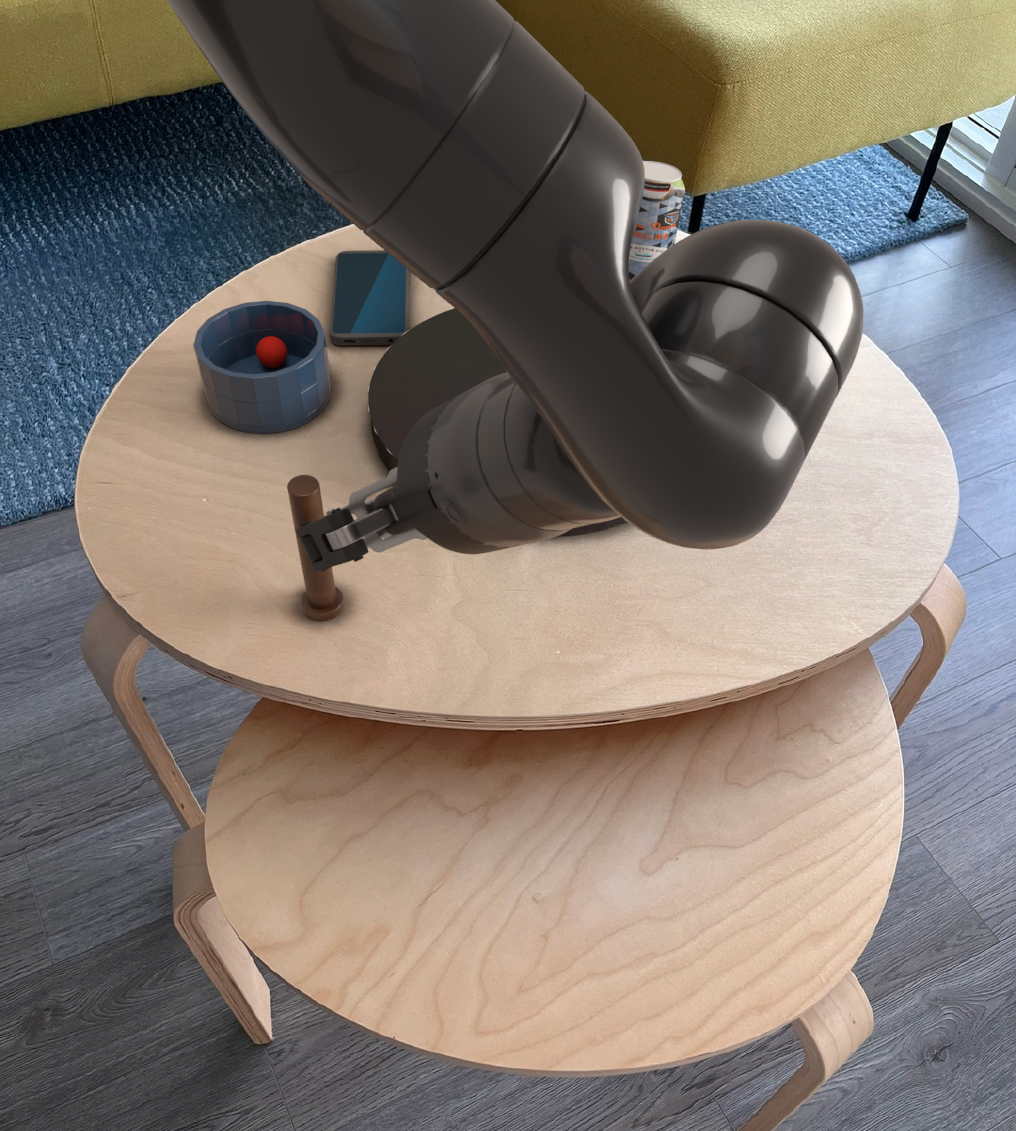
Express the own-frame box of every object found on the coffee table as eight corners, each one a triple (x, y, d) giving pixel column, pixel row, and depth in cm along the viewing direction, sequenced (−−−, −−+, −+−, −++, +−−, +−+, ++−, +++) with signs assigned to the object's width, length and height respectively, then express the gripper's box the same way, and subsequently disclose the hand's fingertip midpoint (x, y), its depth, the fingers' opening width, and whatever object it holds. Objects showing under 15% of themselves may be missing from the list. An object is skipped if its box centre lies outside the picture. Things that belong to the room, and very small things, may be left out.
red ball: (277, 377, 103) (272, 351, 101) (252, 368, 104) (247, 342, 101) (295, 361, 104) (291, 335, 102) (270, 352, 105) (266, 326, 103)
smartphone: (329, 345, 107) (328, 337, 106) (336, 257, 116) (335, 249, 116) (409, 344, 107) (408, 336, 107) (409, 257, 117) (409, 248, 116)
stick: (328, 626, 85) (308, 507, 76) (294, 611, 86) (270, 490, 77) (352, 599, 87) (335, 479, 77) (318, 584, 88) (297, 463, 78)
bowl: (284, 449, 98) (274, 393, 93) (181, 407, 101) (166, 351, 96) (355, 380, 104) (349, 324, 99) (256, 343, 107) (245, 287, 103)
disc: (565, 287, 114) (567, 260, 112) (774, 446, 99) (781, 419, 97) (308, 394, 103) (304, 366, 100) (501, 591, 88) (501, 565, 86)
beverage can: (600, 299, 113) (610, 184, 103) (617, 261, 117) (629, 147, 108) (661, 311, 112) (677, 196, 102) (676, 272, 116) (693, 158, 107)
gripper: (593, 333, 53) (459, 404, 68) (336, 448, 48) (250, 497, 63) (653, 479, 55) (510, 517, 70) (411, 606, 50) (310, 618, 64)
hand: (387, 508), depth 66 cm, fingers open, 8 cm apart
